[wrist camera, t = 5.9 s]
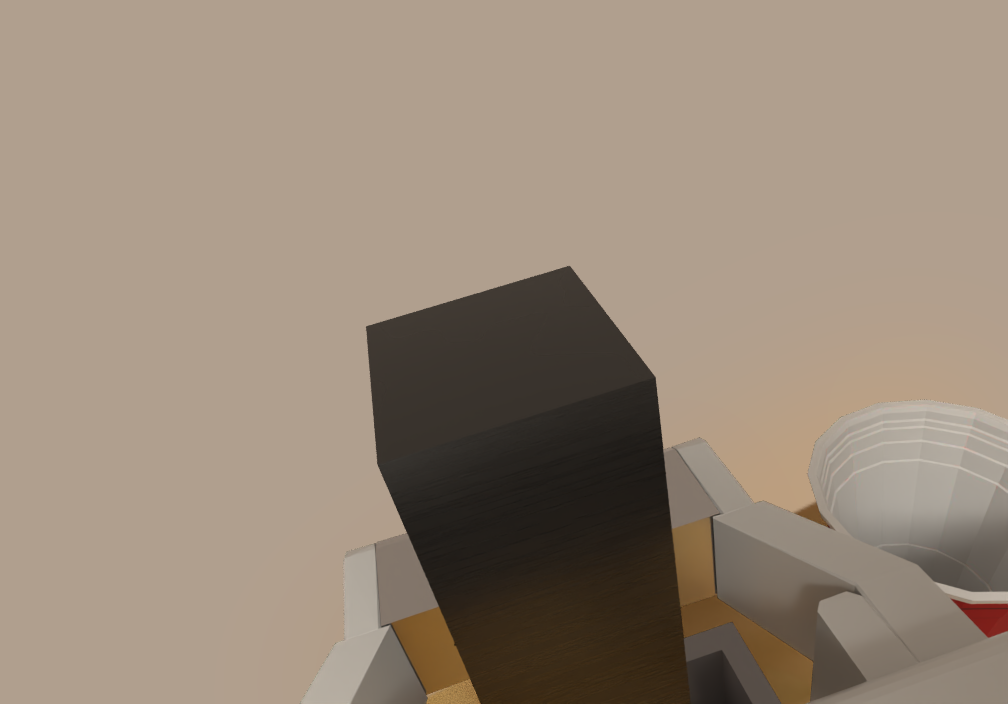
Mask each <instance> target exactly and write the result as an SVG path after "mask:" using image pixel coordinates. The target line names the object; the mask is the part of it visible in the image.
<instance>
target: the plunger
mask: <svg viewBox="0 0 1008 704" xmlns="http://www.w3.org/2000/svg"><path fill="white" fill-rule="evenodd" d="M366 331H367V343H368V354H369V367H370V378H371V391H372V403H373V415H374V428H375V439H376V450H377V451H376V452H377V464H378V467H379V469H380V471H381V474H382V476H383V478H384V481H385V483H386V485H387V487H388V489H389V492H390V494H391V497H392V499H393V501H394V504H395V506H396V508H397V511H398V513H399V515H400V518H401V520H402V522H403V525H404V527H405V529H406V531H407V534H408V536H409V538H410V541H411V543H412V545H413V548H414V550H415V552H416V555H417V557H418V559H419V562H420V564H421V566H422V569H423V571H424V573H425V576H426V578H427V580H428V582H429V585H430V587H431V589H432V592H433V594H434V596H435V599H436V601H437V603H438V606H439V608H440V610H441V613H442V615H443V617H444V620H445V622H446V624H447V626H448V629H449V631H450V633H451V636H452V638H453V640H454V643H455V645H456V647H457V650H458V652H459V654H460V657H461V659H462V661H463V664H464V666H465V668H466V671H467V673H468V675H469V677H470V680H471V682H472V684H473V687H474V689H475V691H476V694H477V696H478V698H479V701H480V703H481V704H691V701H690V692H689V682H688V673H687V664H686V655H685V645H684V636H683V627H682V618H681V608H680V599H679V590H678V581H677V571H676V562H675V553H674V544H673V535H672V525H671V516H670V507H669V498H668V488H667V479H666V470H665V461H664V451H663V442H662V434H661V424H660V414H659V405H658V396H657V387H656V378H655V376H654V375H653V374H652V372H651V371H650V369H649V368H648V367H647V366H646V364H645V363H644V362H643V361H642V359H641V358H640V356H639V355H638V354H637V353H636V351H635V350H634V349H633V347H632V346H631V345H630V343H628V341H627V340H626V338H625V337H624V336H623V334H622V333H621V332H620V331H619V329H618V328H617V327H616V325H615V324H614V323H613V321H612V320H611V319H610V317H609V316H608V315H607V314H606V312H605V311H604V310H603V308H602V307H601V306H600V305H599V303H598V302H597V301H596V299H595V298H594V297H593V295H592V294H591V293H590V292H589V290H588V289H587V288H586V286H585V285H584V284H583V282H582V281H581V280H580V279H579V277H578V276H577V275H576V273H575V272H574V271H573V269H572V268H571V267H570V266H567V267H564V268H561V269H557V270H554V271H551V272H547V273H544V274H541V275H537V276H534V277H530V278H527V279H524V280H520V281H517V282H514V283H510V284H507V285H504V286H500V287H497V288H494V289H490V290H487V291H484V292H481V293H477V294H473V295H470V296H467V297H463V298H460V299H457V300H453V301H450V302H447V303H443V304H440V305H437V306H433V307H430V308H426V309H423V310H420V311H416V312H413V313H410V314H406V315H403V316H400V317H396V318H393V319H390V320H387V321H383V322H380V323H376V324H373V325H369V326H367V327H366Z"/></svg>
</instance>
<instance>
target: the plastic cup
mask: <svg viewBox="0 0 1008 704" xmlns="http://www.w3.org/2000/svg"><path fill="white" fill-rule="evenodd" d="M808 477H809V480H810V483H811V486H812V490H813V493H814V496H815V499H816V502H817V505H818V508H819V512H820V514H821V517H822V519H823V520H824V521H825V522H826V523H827V525H828V528H831V529H833V530H835V531H838V532H840V533H843V534H845V535H847V536H850V537H852V538H855V539H857V540H859V541H862V542H864V543H867V544H869V545H871V546H874V547H876V548H879V549H881V550H883V551H886V552H888V553H891V554H893V555H895V556H898V557H900V558H903V559H905V560H907V561H910V562H912V563H915V564H917V565H918V566H919V567H920V568H921V569H922V570H923V571H924V572H925V573H926V574H927V575H928V576H929V577H930V578H931V579H932V580H933V581H934V582H935V583H936V584H937V585H938V586H939V587H940V588H941V590H942V591H943V592H944V593H945V594H946V595H947V596H948V597H949V598H950V599H951V600H952V601H953V602H954V603H955V604H956V605H957V606H958V607H959V608H960V609H961V610H962V611H963V612H964V613H965V614H966V615H967V616H968V618H969V619H970V620H971V621H972V622H973V623H974V624H975V625H976V626H977V627H978V628H979V629H980V630H981V631H982V632H983V633H984V634H985V635H986V636H987V637H988V638H990V637H993V636H995V635H998V634H1001V633H1004V632H1006V631H1008V420H1007V419H1005V418H1002V417H999V416H997V415H994V414H992V413H989V412H987V411H984V410H982V409H979V408H974V407H968V406H962V405H956V404H950V403H944V402H938V401H931V400H913V401H899V402H884V403H877V404H874V405H871V406H869V407H866V408H864V409H861V410H858V411H856V412H853V413H850V414H848V415H845V416H842V417H840V418H839V419H838V420H837V421H836V422H835V423H834V424H833V425H832V426H831V427H830V428H829V429H828V430H827V431H826V432H825V433H824V434H823V435H822V436H821V437H820V438H819V439H818V440H817V441H816V442H815V445H814V449H813V454H812V458H811V462H810V466H809V470H808Z"/></svg>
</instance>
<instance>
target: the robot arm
mask: <svg viewBox="0 0 1008 704" xmlns="http://www.w3.org/2000/svg"><path fill="white" fill-rule="evenodd" d="M663 451H664V461H665V470H666V479H667V488H668V498H669V507H670V516H671V525H672V535H673V544H674V553H675V562H676V571H677V581H678V590H679V599H680V607H681V606H684V605H687V604H691V603H694V602H697V601H700V600H703V599H707V598H710V597H713V596H716V595H717V597H718V598H719V599H720V600H722V601H723V602H725V603H726V604H728V605H729V606H731V607H732V608H734V609H735V610H737V611H738V612H740V613H741V614H743V615H744V616H746V617H747V618H749V619H750V620H752V621H753V622H755V623H756V624H758V625H759V626H761V627H762V628H764V629H765V630H767V631H768V632H770V633H771V634H773V635H774V636H776V637H777V638H779V639H780V640H782V641H783V642H785V643H786V644H788V645H789V646H791V647H792V648H794V649H795V650H797V651H798V652H800V653H801V654H803V655H805V656H806V657H808V658H809V659H811V660H812V661H813V674H812V686H811V699H810V702H809V703H806V704H1008V631H1006V632H1004V633H1001V634H998V635H995V636H993V637H990V638H988V637H987V636H986V635H985V634H984V633H983V632H982V631H981V630H980V629H979V628H978V627H977V626H976V625H975V624H974V623H973V622H972V621H971V620H970V619H969V618H968V616H967V615H966V614H965V613H964V612H963V611H962V610H961V609H960V608H959V607H958V606H957V605H956V604H955V603H954V602H953V601H952V600H951V599H950V598H949V597H948V596H947V595H946V594H945V593H944V592H943V591H942V590H941V588H940V587H939V586H938V585H937V584H936V583H935V582H934V581H933V580H932V579H931V578H930V577H929V576H928V575H927V574H926V573H925V572H924V571H923V570H922V569H921V568H920V567H919V566H918V565H917V564H915V563H912V562H910V561H907V560H905V559H903V558H900V557H898V556H895V555H893V554H891V553H888V552H886V551H883V550H881V549H879V548H876V547H874V546H871V545H869V544H867V543H864V542H862V541H859V540H857V539H855V538H852V537H850V536H847V535H845V534H843V533H840V532H838V531H835V530H833V529H831V528H828V527H826V526H823V525H821V524H819V523H816V522H814V521H811V520H809V519H807V518H804V517H802V516H799V515H797V514H795V513H792V512H790V511H787V510H785V509H782V508H780V507H778V506H775V505H773V504H770V503H768V502H766V501H760V502H757V503H754V502H753V500H752V499H751V498H750V497H749V495H748V494H747V493H746V492H745V490H744V489H743V488H742V486H741V485H740V484H739V483H738V481H737V480H736V479H735V478H734V476H733V475H732V474H731V472H730V471H729V470H728V469H727V467H726V466H725V465H724V464H723V462H722V461H721V460H720V458H719V457H718V456H717V455H716V453H715V452H714V451H713V450H712V448H711V447H710V446H709V444H708V443H707V442H706V441H705V440H704V439H702V438H697V439H694V440H691V441H688V442H685V443H682V444H679V445H676V446H673V447H672V448H667V449H664V450H663ZM467 679H470V677H469V675H468V673H467V671H466V668H465V666H464V664H463V661H462V659H461V657H460V654H459V652H458V650H457V647H456V645H455V643H454V640H453V638H452V636H451V633H450V631H449V629H448V626H447V624H446V622H445V620H444V617H443V615H442V613H441V610H440V608H439V606H438V603H437V601H436V599H435V596H434V594H433V592H432V589H431V587H430V585H429V582H428V580H427V578H426V576H425V573H424V571H423V569H422V566H421V564H420V562H419V559H418V557H417V555H416V552H415V550H414V548H413V545H412V543H411V541H410V538H409V536H408V534H407V533H406V534H402V535H399V536H396V537H393V538H389V539H386V540H383V541H379V542H377V543H375V544H371V545H368V546H364V547H361V548H358V549H354V550H351V551H347V552H346V555H345V558H344V640H343V641H340V642H337V643H335V645H334V646H333V648H332V650H331V651H330V653H329V655H328V656H327V658H326V660H325V662H324V663H323V665H322V667H321V668H320V670H319V672H318V673H317V675H316V677H315V678H314V680H313V682H312V684H311V686H310V687H309V689H308V690H307V692H306V694H305V695H304V697H303V699H302V701H301V702H300V704H426V701H427V699H428V698H427V696H426V695H427V694H430V693H433V692H435V691H438V690H441V689H443V688H446V687H449V686H451V685H454V684H457V683H459V682H462V681H465V680H467Z"/></svg>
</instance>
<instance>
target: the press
mask: <svg viewBox="0 0 1008 704" xmlns="http://www.w3.org/2000/svg"><path fill="white" fill-rule="evenodd" d="M684 645H685V655H686V664H687V673H688V682H689V692H690V701H691V704H781V702H780V701H779V699H778V697H777V696H776V694H775V692H774V691H773V689H772V687H771V686H770V684H769V682H768V681H767V679H766V677H765V676H764V674H763V672H762V671H761V669H760V667H759V666H758V664H757V662H756V661H755V659H754V657H753V656H752V654H751V652H750V651H749V649H748V647H747V646H746V644H745V642H744V641H743V639H742V637H741V636H740V634H739V632H738V631H737V629H736V627H735V626H734V624H733V622H730V623H727V624H724V625H721V626H719V627H716V628H713V629H710V630H707V631H704V632H701V633H698V634H695V635H692V636H690V637H687V638H684Z"/></svg>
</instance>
